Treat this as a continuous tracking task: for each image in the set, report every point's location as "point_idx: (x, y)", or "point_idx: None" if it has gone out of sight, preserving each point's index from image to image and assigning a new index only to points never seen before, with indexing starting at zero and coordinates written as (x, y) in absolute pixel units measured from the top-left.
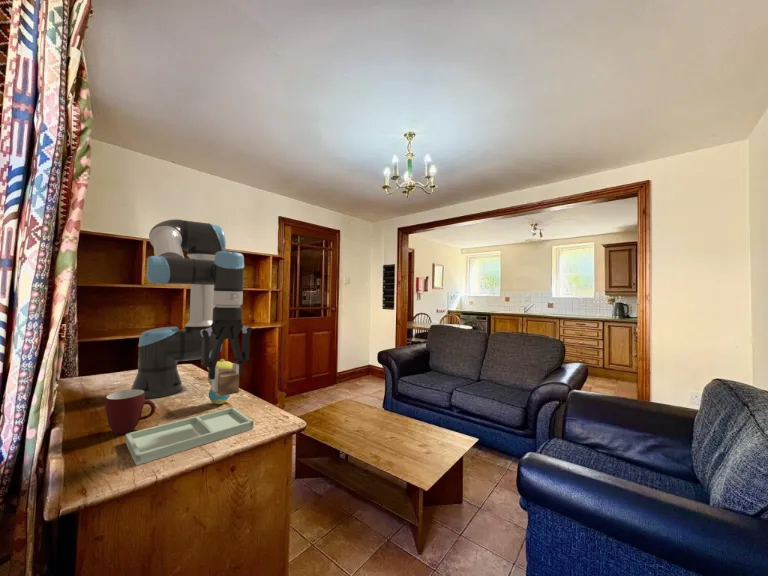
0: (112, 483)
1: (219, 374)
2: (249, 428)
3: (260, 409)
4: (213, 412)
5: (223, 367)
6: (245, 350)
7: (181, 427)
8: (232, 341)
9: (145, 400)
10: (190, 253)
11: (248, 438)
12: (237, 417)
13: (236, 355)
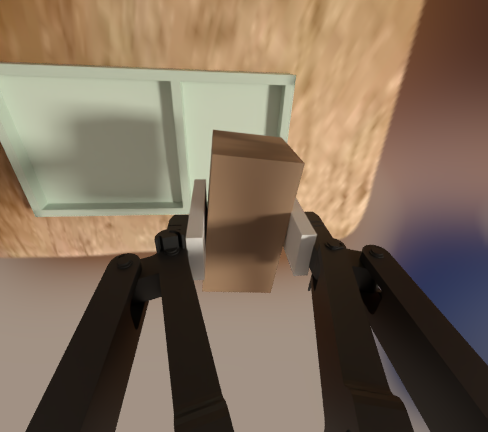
0: (21, 237)
1: (211, 249)
2: None
3: (362, 98)
4: (228, 77)
5: None
6: (377, 337)
7: (131, 90)
8: (334, 411)
9: None
10: None
11: None
12: (276, 132)
13: (315, 308)
